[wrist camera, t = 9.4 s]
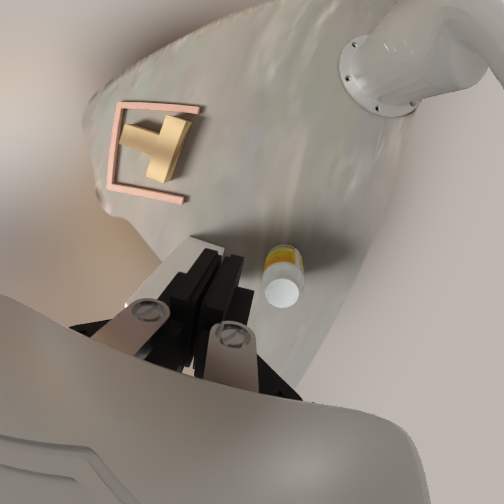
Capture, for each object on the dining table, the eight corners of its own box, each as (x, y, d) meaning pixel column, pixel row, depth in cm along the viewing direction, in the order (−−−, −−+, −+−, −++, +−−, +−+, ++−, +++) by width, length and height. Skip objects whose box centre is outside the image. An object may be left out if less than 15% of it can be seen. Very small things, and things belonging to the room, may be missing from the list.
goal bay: (119, 102, 34) (117, 101, 33) (200, 107, 33) (198, 106, 33) (109, 188, 39) (106, 189, 38) (183, 203, 39) (181, 204, 38)
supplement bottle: (309, 260, 40) (315, 294, 31) (284, 283, 42) (282, 320, 33) (283, 235, 39) (282, 264, 30) (258, 260, 41) (249, 293, 32)
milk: (225, 247, 41) (172, 348, 20) (215, 281, 43) (166, 389, 23) (187, 235, 41) (107, 321, 20) (180, 269, 43) (110, 365, 23)
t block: (140, 105, 34) (131, 104, 31) (192, 122, 34) (185, 121, 32) (122, 160, 37) (113, 162, 35) (170, 180, 38) (163, 183, 35)
